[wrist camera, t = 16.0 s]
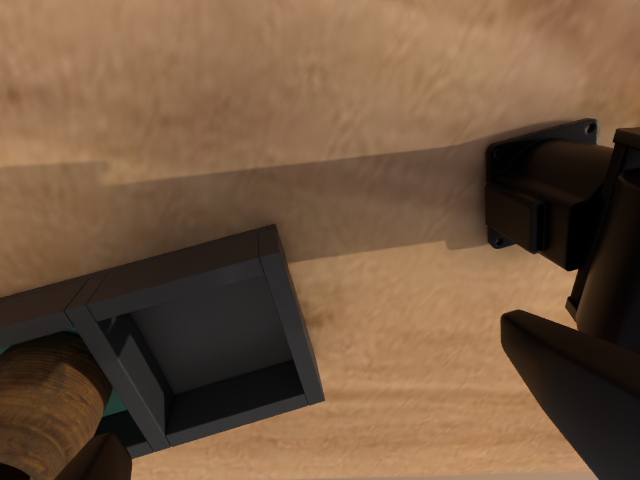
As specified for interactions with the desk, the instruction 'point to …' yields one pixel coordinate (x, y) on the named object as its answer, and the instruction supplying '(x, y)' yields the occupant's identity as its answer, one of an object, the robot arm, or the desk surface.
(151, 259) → the organiser
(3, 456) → the utensil holder
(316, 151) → the desk surface
